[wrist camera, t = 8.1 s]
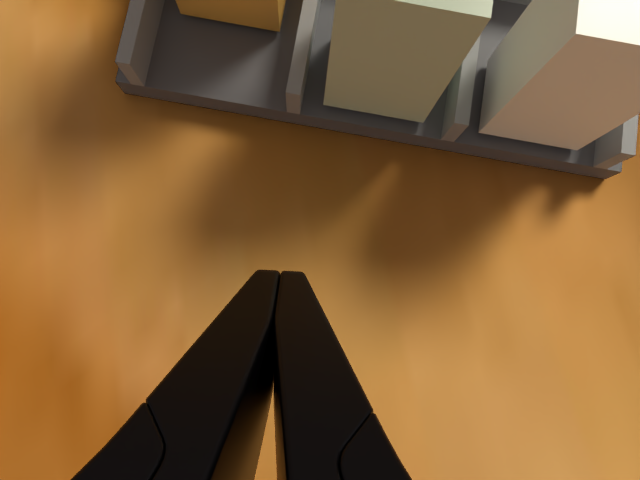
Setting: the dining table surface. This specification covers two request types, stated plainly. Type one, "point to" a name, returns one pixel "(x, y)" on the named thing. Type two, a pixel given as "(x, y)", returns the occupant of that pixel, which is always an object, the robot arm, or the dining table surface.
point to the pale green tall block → (399, 53)
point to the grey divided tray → (310, 80)
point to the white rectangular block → (565, 73)
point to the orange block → (237, 11)
